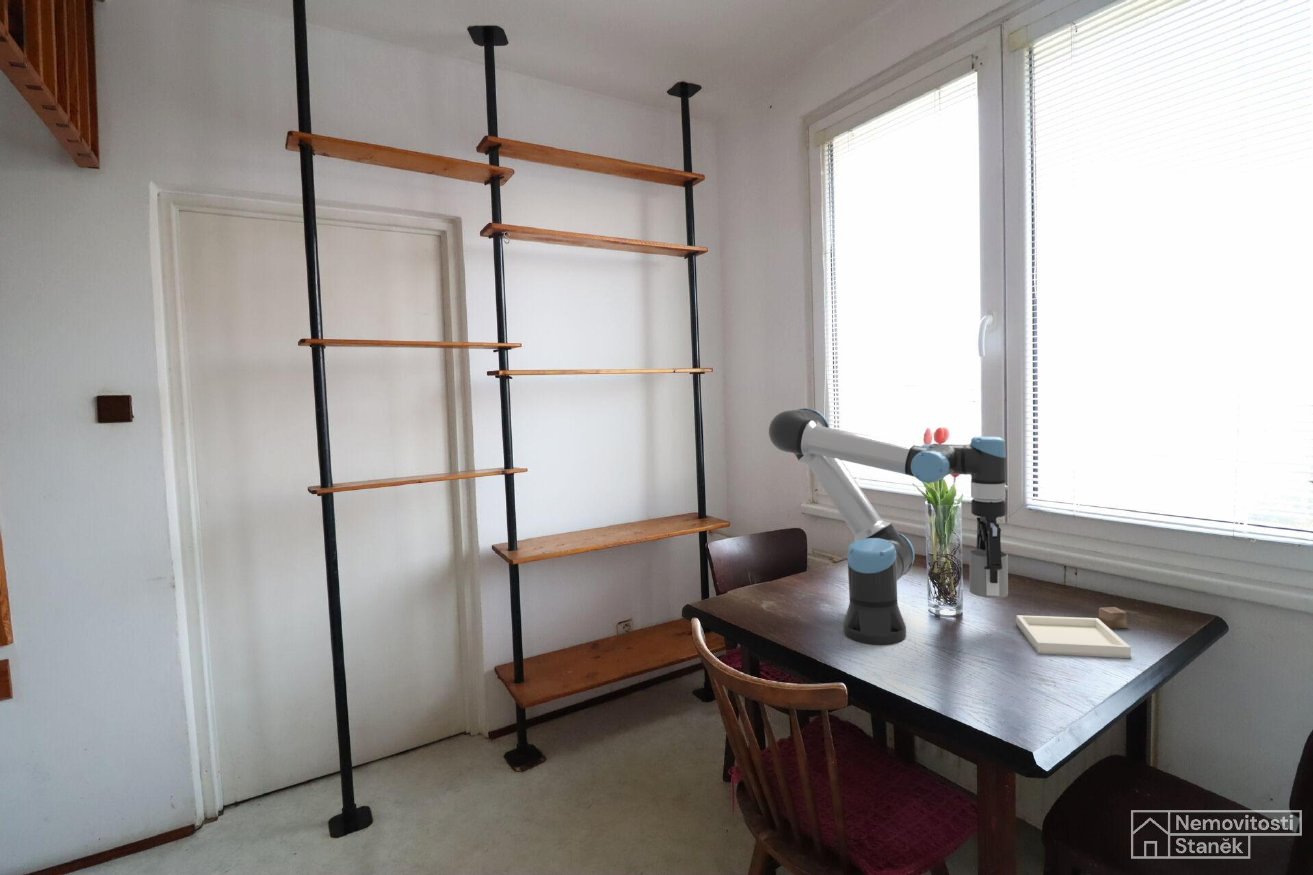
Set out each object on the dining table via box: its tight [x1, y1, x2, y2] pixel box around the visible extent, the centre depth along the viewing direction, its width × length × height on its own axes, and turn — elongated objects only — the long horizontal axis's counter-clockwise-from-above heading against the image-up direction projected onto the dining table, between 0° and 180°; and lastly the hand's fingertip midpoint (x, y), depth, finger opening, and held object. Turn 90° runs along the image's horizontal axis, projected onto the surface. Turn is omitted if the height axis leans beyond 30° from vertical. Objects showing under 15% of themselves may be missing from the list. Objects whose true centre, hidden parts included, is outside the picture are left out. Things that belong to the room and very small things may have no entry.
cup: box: [968, 549, 1009, 599], centre depth 154 cm, size 8×8×10 cm
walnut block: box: [1098, 606, 1128, 630], centre depth 154 cm, size 4×4×4 cm
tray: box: [1016, 614, 1132, 659], centre depth 147 cm, size 18×18×2 cm
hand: (988, 588), depth 154 cm, fingers closed on cup, 8 cm apart
